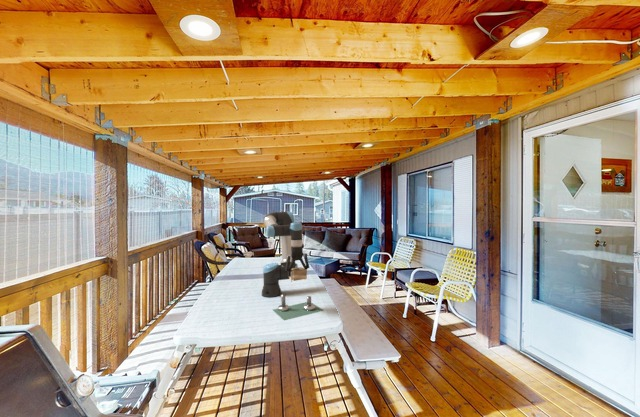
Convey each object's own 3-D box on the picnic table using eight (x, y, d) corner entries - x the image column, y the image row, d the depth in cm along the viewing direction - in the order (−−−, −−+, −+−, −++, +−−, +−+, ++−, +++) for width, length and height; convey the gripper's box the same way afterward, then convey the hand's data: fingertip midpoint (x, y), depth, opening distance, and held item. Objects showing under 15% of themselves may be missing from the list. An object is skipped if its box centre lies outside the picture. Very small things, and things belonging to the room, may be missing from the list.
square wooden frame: (288, 277, 192) (288, 268, 192) (301, 275, 196) (300, 267, 196) (293, 280, 184) (293, 271, 184) (306, 278, 188) (306, 269, 188)
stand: (276, 309, 192) (276, 294, 192) (286, 306, 196) (286, 292, 195) (280, 312, 186) (280, 297, 186) (290, 310, 190) (290, 295, 189)
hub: (301, 308, 193) (301, 296, 193) (311, 305, 197) (311, 294, 197) (306, 311, 186) (306, 299, 186) (317, 309, 190) (317, 297, 190)
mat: (272, 310, 191) (272, 309, 191) (309, 301, 205) (309, 301, 205) (284, 321, 174) (284, 320, 174) (323, 311, 188) (323, 310, 188)
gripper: (283, 248, 181) (284, 284, 182) (314, 245, 191) (315, 278, 192) (279, 246, 188) (280, 281, 188) (309, 243, 198) (310, 276, 198)
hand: (297, 280), depth 190 cm, fingers closed on square wooden frame, 9 cm apart
